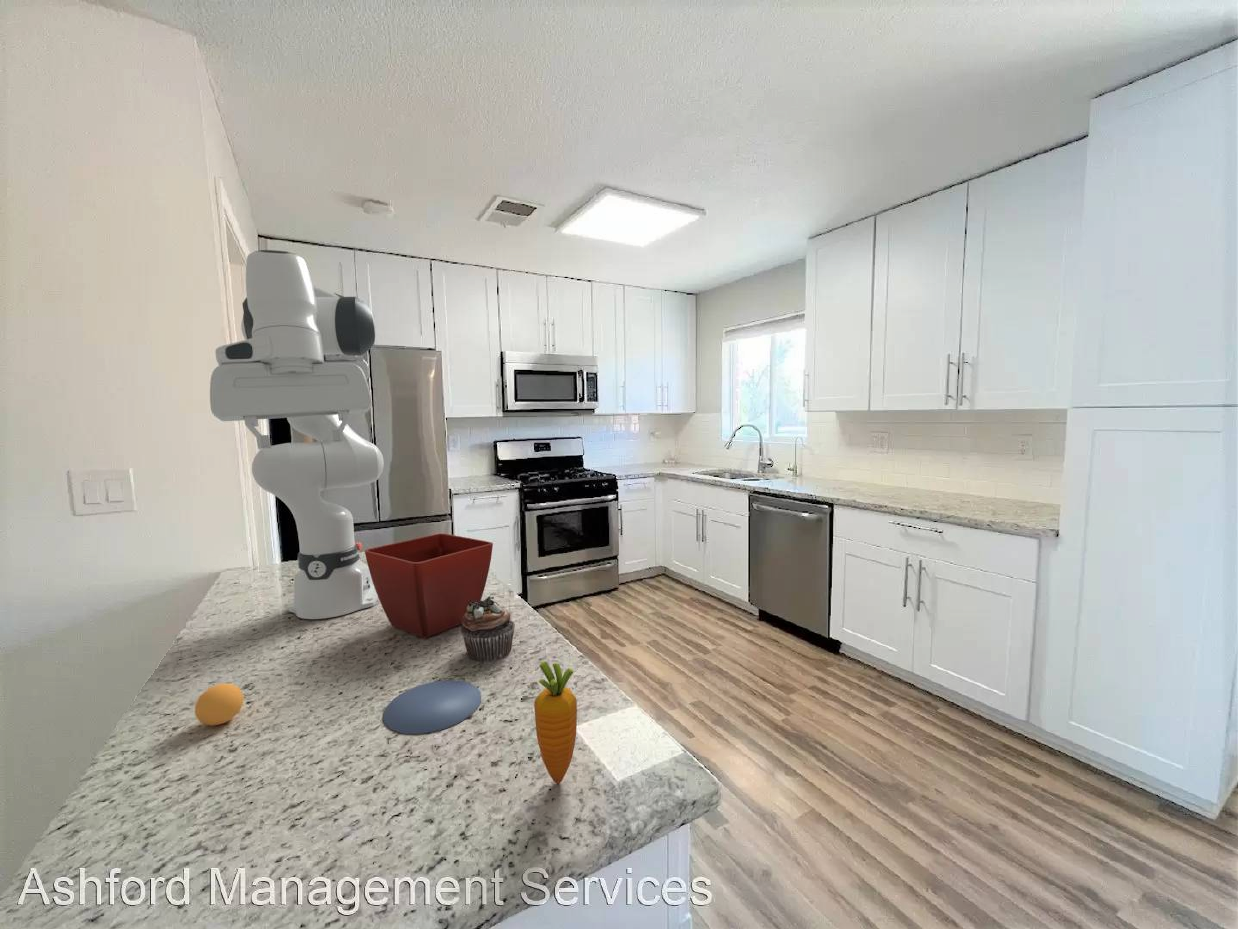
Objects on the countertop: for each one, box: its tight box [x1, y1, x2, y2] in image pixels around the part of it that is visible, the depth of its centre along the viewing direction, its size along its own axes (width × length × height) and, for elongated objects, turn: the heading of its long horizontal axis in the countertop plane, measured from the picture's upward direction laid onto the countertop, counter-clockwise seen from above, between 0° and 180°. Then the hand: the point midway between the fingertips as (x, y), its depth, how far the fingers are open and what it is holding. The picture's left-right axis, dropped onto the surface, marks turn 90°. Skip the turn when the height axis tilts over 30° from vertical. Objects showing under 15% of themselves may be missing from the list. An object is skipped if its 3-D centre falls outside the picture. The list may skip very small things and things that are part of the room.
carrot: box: [533, 660, 578, 785], centre depth 59 cm, size 5×5×15 cm
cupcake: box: [460, 595, 516, 663], centre depth 93 cm, size 10×10×10 cm
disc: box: [382, 679, 482, 735], centre depth 76 cm, size 14×14×1 cm
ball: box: [194, 683, 244, 726], centre depth 73 cm, size 6×6×6 cm
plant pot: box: [364, 533, 494, 639], centre depth 107 cm, size 19×19×17 cm
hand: (302, 445), depth 75 cm, fingers open, 8 cm apart
